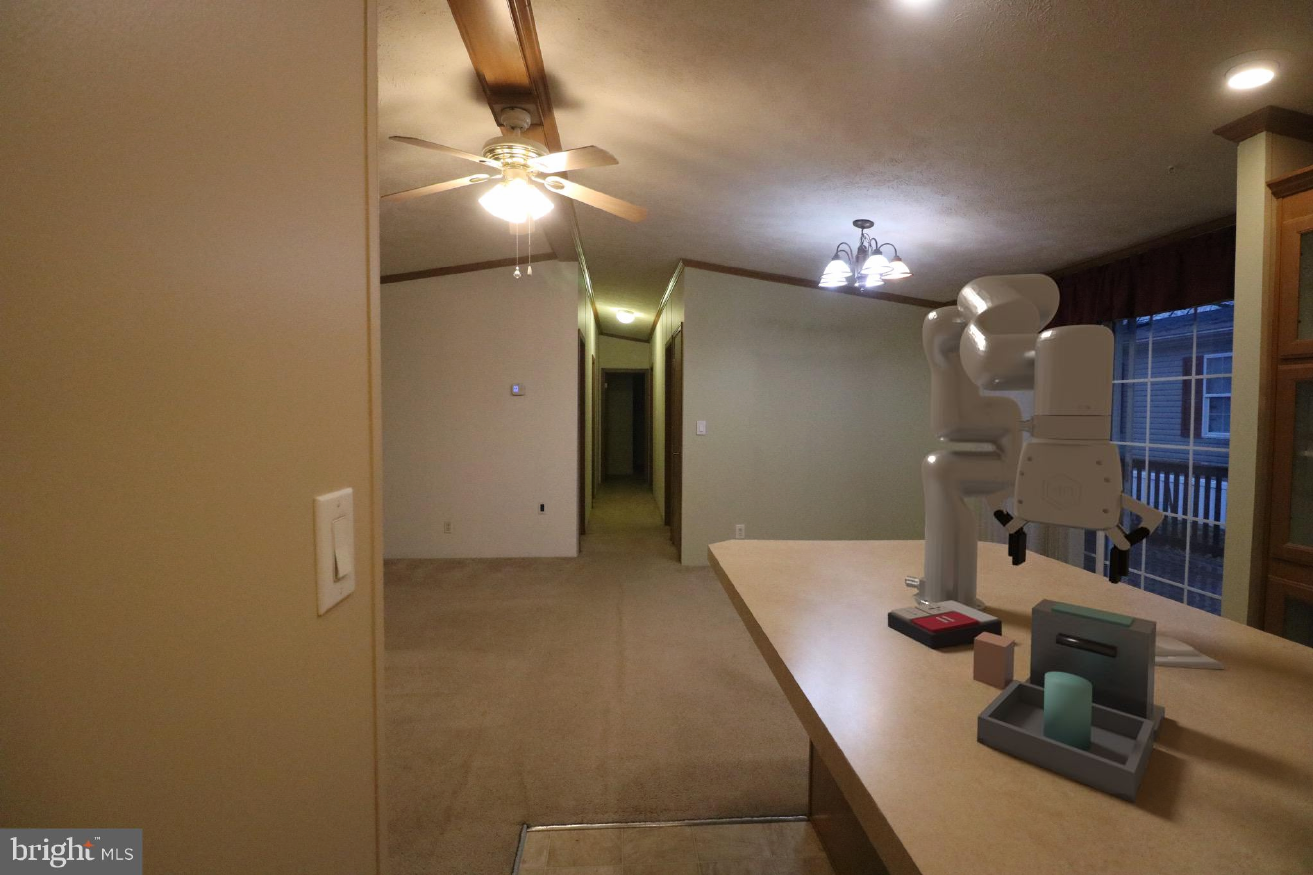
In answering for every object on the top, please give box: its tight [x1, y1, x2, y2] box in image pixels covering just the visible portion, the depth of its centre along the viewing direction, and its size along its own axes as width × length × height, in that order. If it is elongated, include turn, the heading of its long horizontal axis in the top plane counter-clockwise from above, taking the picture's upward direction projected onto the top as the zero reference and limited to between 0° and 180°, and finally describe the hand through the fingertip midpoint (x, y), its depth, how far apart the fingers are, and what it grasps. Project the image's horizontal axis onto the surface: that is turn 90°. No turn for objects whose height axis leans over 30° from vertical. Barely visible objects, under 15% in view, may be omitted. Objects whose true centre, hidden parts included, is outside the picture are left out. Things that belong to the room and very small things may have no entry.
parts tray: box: [976, 679, 1155, 804], centre depth 65 cm, size 14×14×3 cm
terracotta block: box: [972, 632, 1015, 690], centre depth 81 cm, size 4×4×6 cm
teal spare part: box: [1043, 672, 1092, 751], centre depth 64 cm, size 4×4×7 cm
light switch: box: [1155, 634, 1224, 670], centre depth 91 cm, size 11×4×13 cm
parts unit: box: [1024, 598, 1166, 742], centre depth 73 cm, size 14×8×12 cm, turn 42°
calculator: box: [887, 600, 1003, 650], centre depth 99 cm, size 11×4×15 cm
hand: (1064, 571), depth 67 cm, fingers open, 9 cm apart
